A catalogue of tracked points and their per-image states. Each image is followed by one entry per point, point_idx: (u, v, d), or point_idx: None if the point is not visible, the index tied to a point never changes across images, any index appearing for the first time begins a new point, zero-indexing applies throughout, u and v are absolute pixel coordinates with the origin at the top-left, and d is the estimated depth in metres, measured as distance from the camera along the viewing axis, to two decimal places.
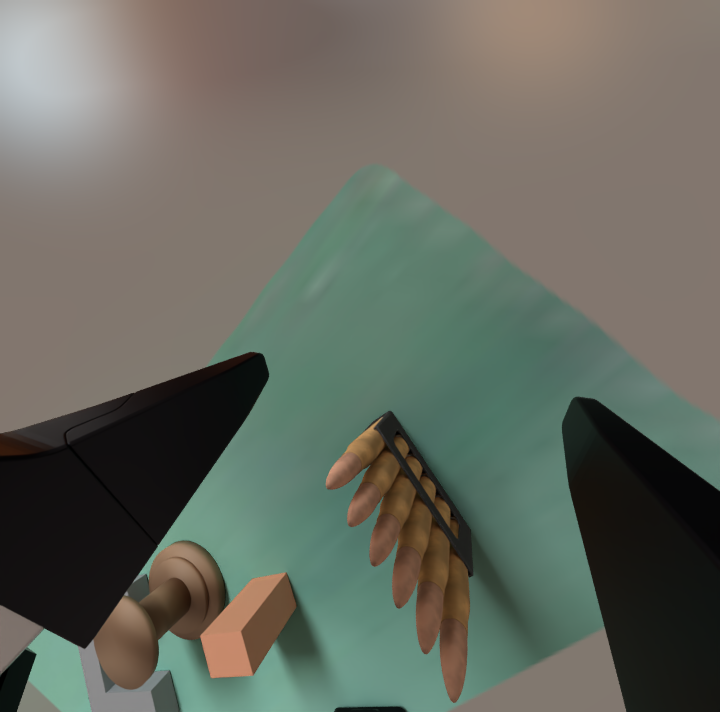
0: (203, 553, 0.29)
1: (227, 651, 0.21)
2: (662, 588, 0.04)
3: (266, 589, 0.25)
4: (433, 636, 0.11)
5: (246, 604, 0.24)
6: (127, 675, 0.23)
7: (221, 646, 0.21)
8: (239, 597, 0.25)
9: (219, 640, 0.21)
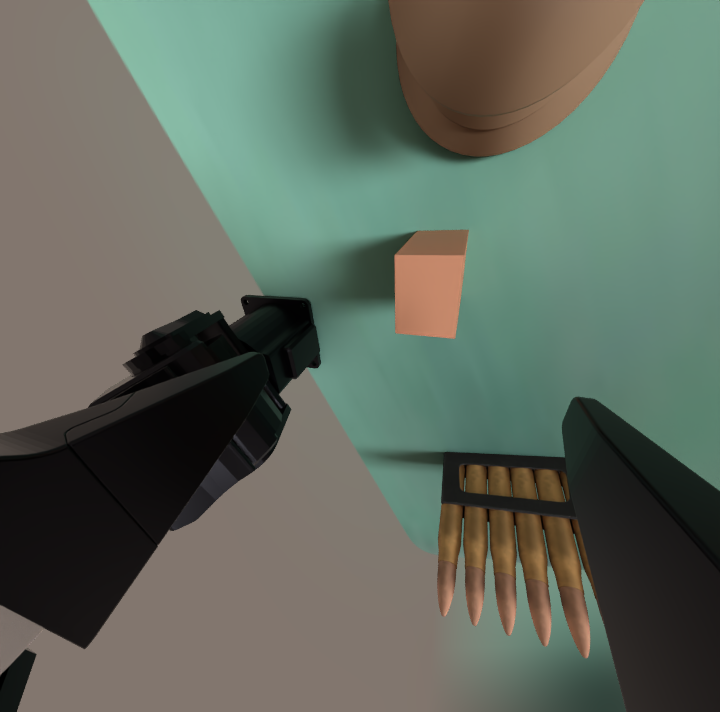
0: None
1: (431, 304, 0.14)
2: (662, 588, 0.04)
3: None
4: None
5: (461, 287, 0.15)
6: None
7: (439, 295, 0.13)
8: None
9: (449, 295, 0.13)
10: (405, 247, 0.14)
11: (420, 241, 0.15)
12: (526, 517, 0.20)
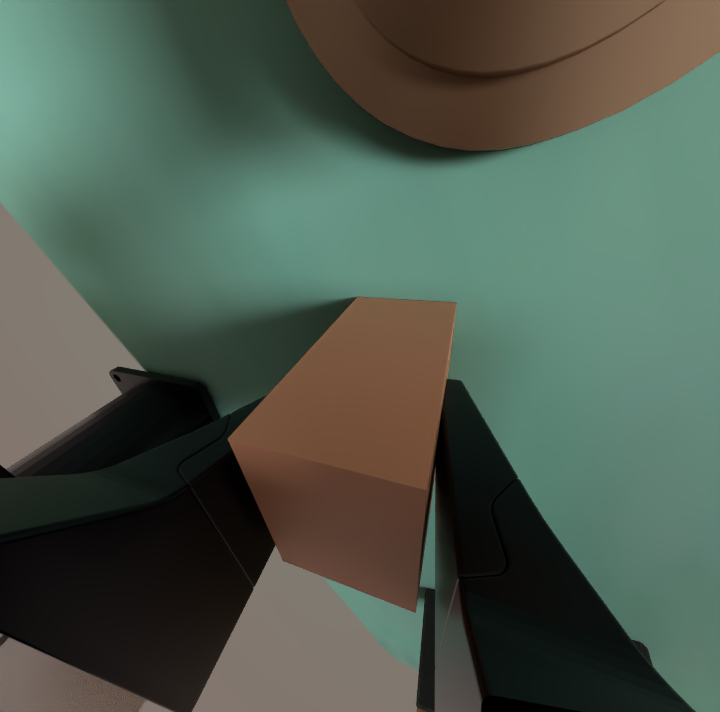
0: None
1: (348, 548, 0.05)
2: (443, 525, 0.05)
3: None
4: None
5: None
6: None
7: (365, 542, 0.05)
8: (447, 365, 0.07)
9: (391, 549, 0.05)
10: (289, 382, 0.06)
11: (340, 349, 0.06)
12: None
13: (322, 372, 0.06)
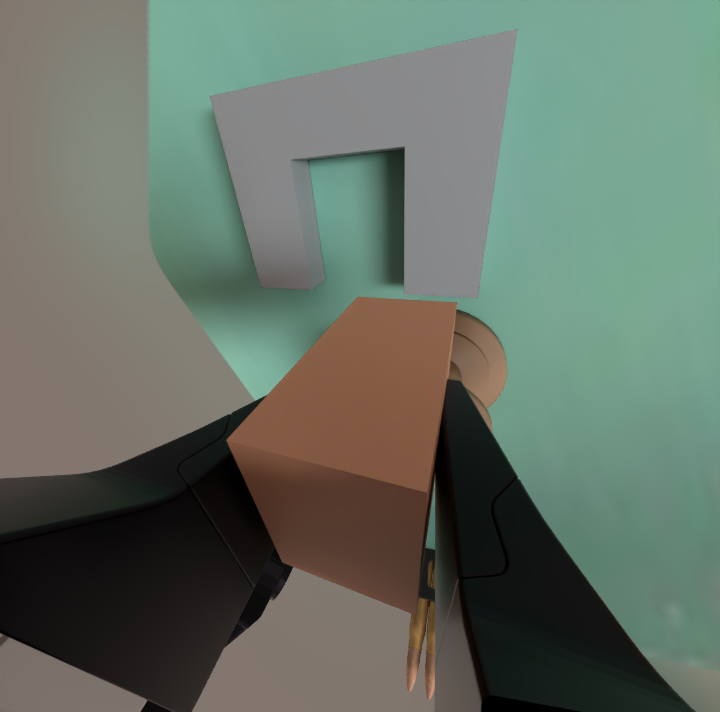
0: None
1: (347, 550, 0.05)
2: (443, 524, 0.05)
3: None
4: None
5: (437, 450, 0.07)
6: None
7: (365, 544, 0.05)
8: None
9: (391, 551, 0.05)
10: (288, 382, 0.05)
11: (340, 349, 0.06)
12: None
13: (322, 373, 0.06)
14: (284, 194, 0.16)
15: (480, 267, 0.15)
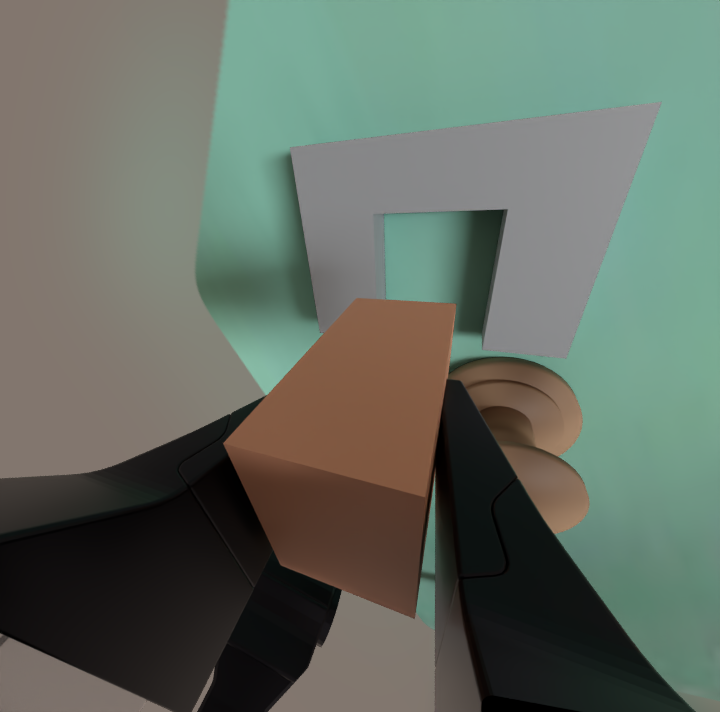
0: None
1: (346, 554, 0.05)
2: (443, 525, 0.05)
3: None
4: None
5: (436, 451, 0.07)
6: None
7: (363, 548, 0.05)
8: (447, 367, 0.07)
9: (389, 555, 0.04)
10: (286, 385, 0.05)
11: (338, 351, 0.06)
12: None
13: (320, 375, 0.06)
14: (361, 246, 0.15)
15: (574, 330, 0.14)
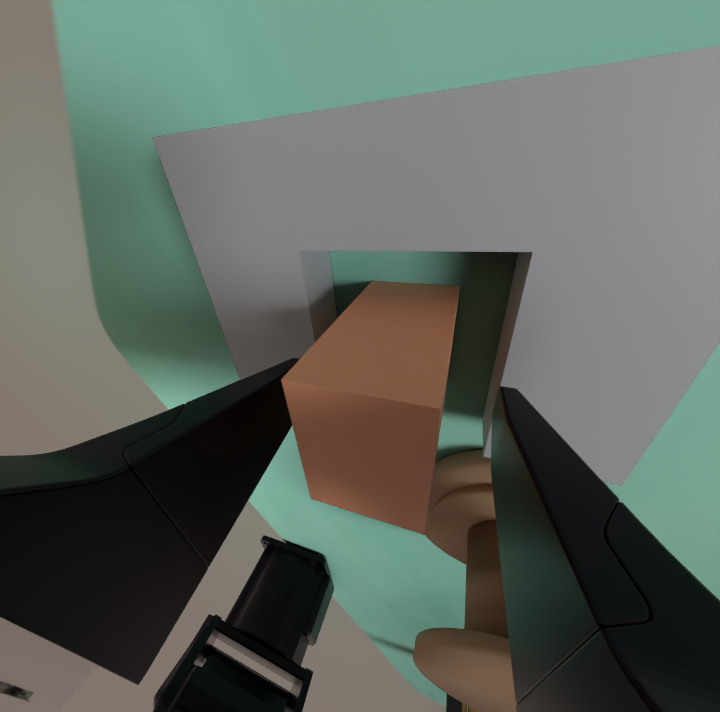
0: None
1: (371, 475, 0.06)
2: (530, 550, 0.04)
3: (444, 397, 0.10)
4: None
5: (442, 407, 0.08)
6: (444, 669, 0.10)
7: (387, 466, 0.06)
8: None
9: (408, 470, 0.06)
10: (323, 342, 0.07)
11: (362, 320, 0.08)
12: None
13: (349, 336, 0.07)
14: (287, 299, 0.09)
15: (642, 450, 0.08)
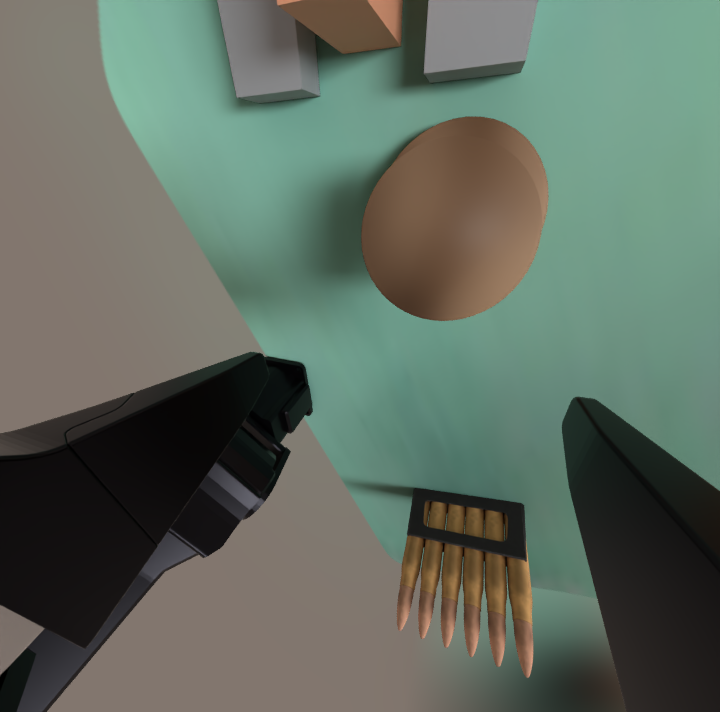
0: None
1: None
2: (662, 588, 0.04)
3: (391, 3, 0.12)
4: None
5: None
6: (384, 237, 0.12)
7: None
8: None
9: None
10: None
11: None
12: (471, 552, 0.25)
13: None
14: None
15: None
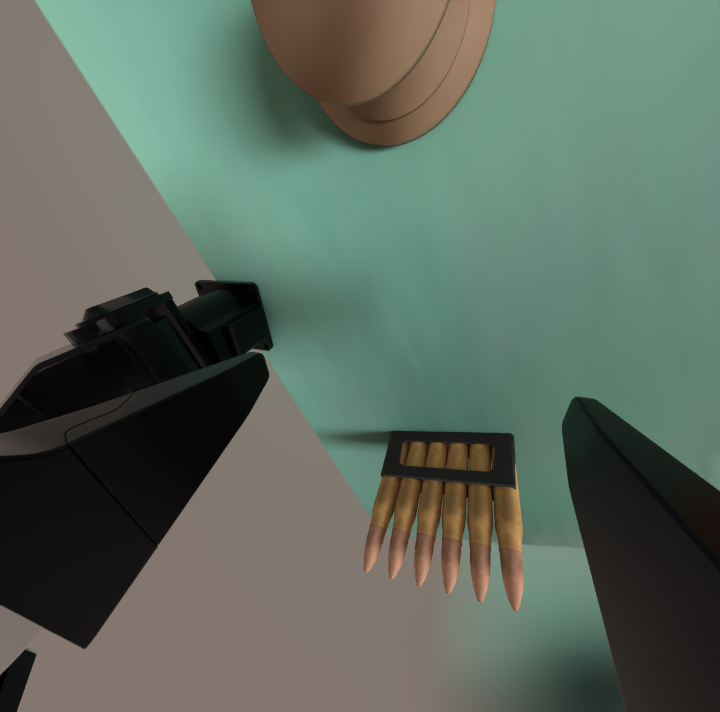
0: (448, 112, 0.14)
1: None
2: (662, 588, 0.04)
3: None
4: None
5: None
6: None
7: None
8: None
9: None
10: None
11: None
12: (452, 485, 0.22)
13: None
14: None
15: None
